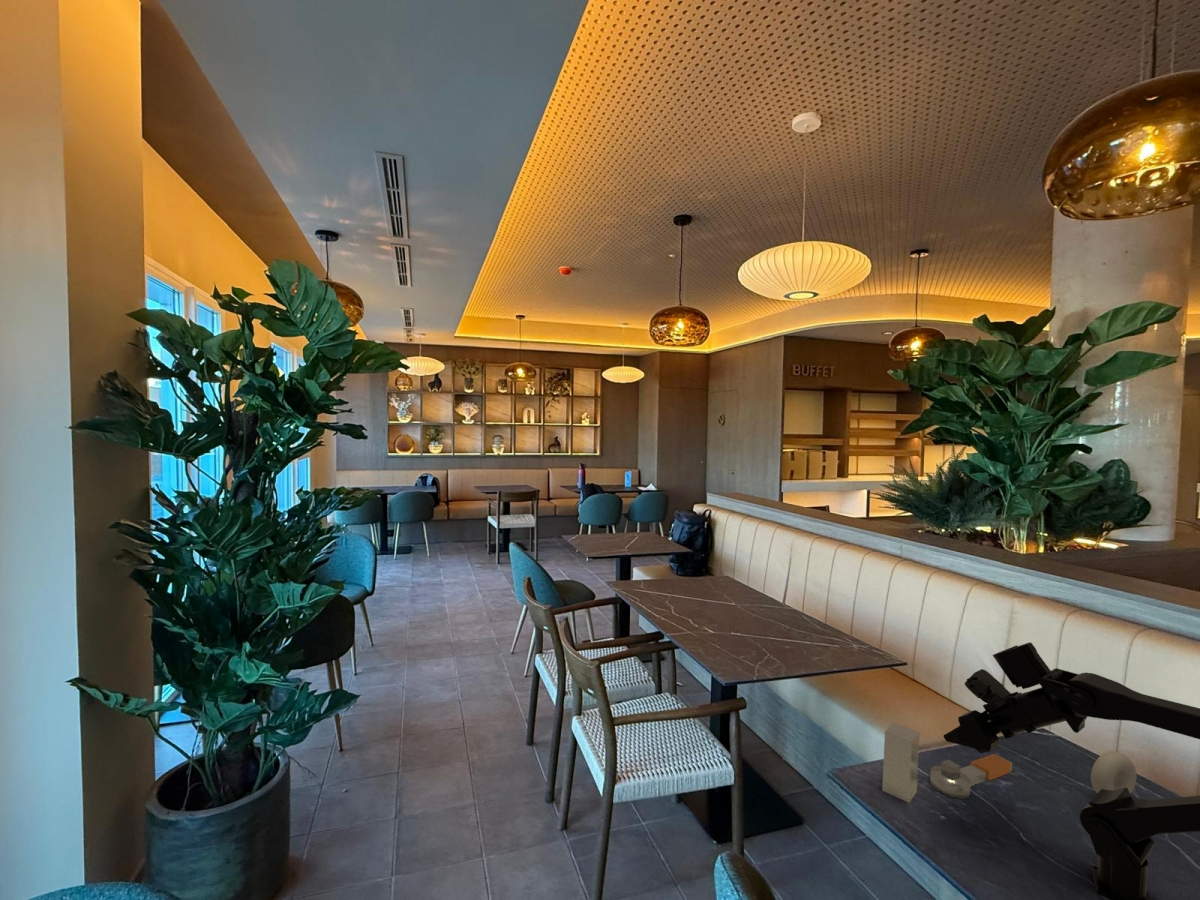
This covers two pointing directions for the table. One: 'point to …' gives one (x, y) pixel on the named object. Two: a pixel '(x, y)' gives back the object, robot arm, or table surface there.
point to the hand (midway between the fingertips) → (955, 731)
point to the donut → (1113, 772)
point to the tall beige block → (900, 762)
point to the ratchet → (967, 775)
